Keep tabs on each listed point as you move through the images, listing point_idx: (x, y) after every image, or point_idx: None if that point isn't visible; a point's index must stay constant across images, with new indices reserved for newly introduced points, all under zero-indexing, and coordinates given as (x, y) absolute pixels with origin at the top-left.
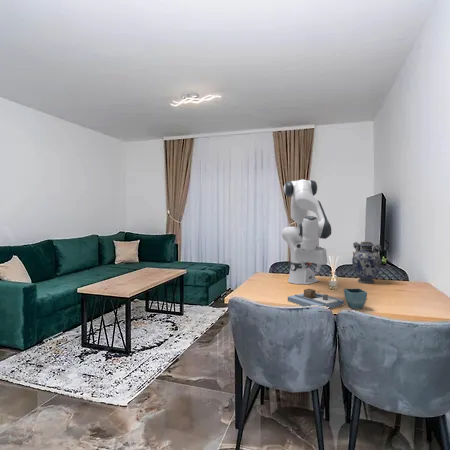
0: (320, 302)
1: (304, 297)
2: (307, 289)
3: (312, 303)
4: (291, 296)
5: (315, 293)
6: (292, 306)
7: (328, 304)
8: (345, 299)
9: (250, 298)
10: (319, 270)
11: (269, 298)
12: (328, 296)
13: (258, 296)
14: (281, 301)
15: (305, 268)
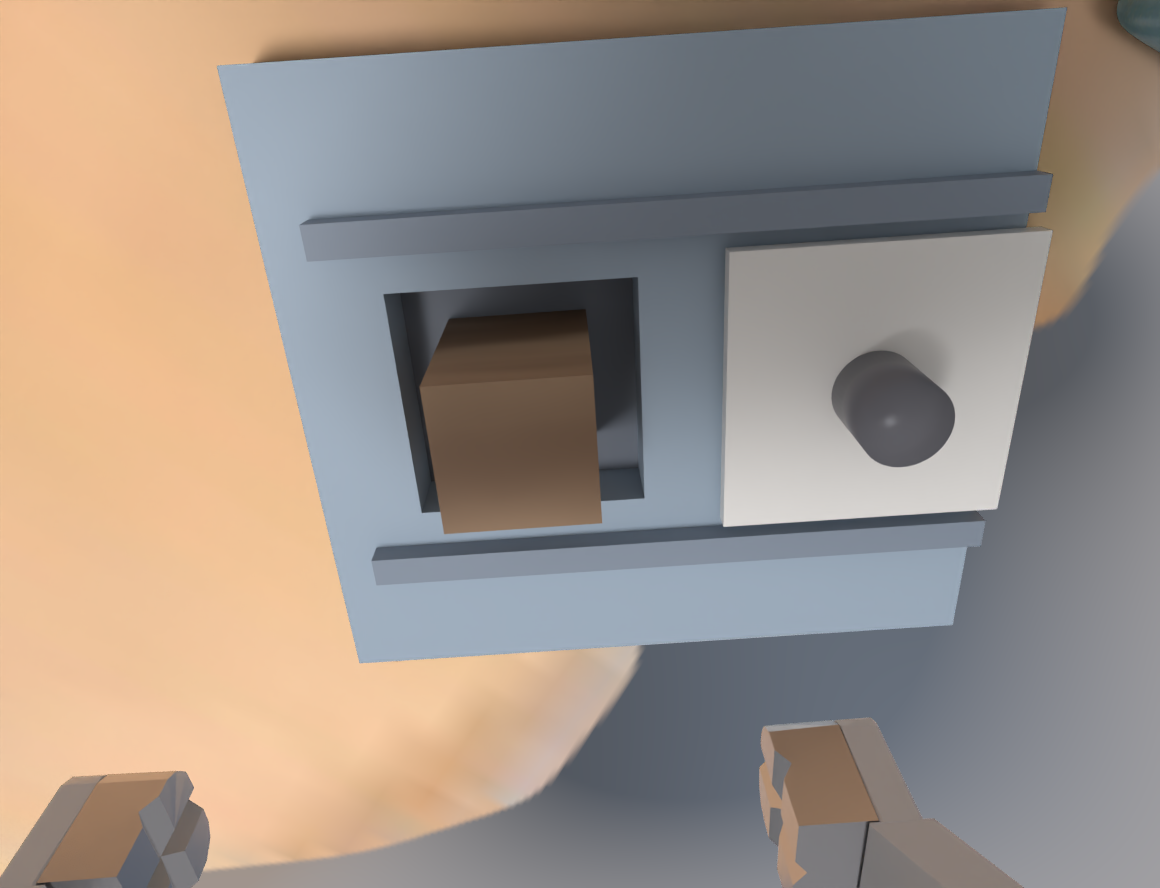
0: (909, 550)
1: (583, 568)
2: (463, 467)
3: (812, 607)
4: (379, 621)
5: (589, 352)
6: (598, 700)
7: None
8: (1139, 37)
9: None
10: (887, 749)
11: (171, 726)
12: (700, 71)
13: (34, 778)
14: (357, 686)
15: (180, 811)
